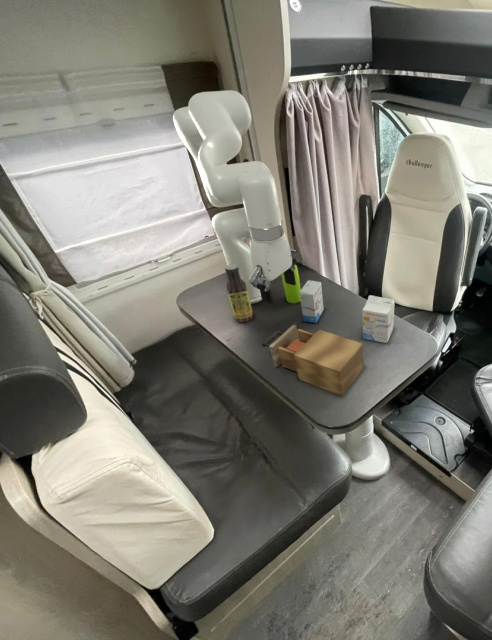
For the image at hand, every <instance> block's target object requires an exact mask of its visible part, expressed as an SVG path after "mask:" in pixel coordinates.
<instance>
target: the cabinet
mask: <svg viewBox="0 0 492 640" xmlns="http://www.w3.org/2000/svg"><path fill="white" fill-rule="evenodd" d="M313 334H314V335H313V336H312V337H311V338H310V339H309V340H308V341H307V342H306V343H305V344H304V345H303V346H302V347H301V348H300V349H299V350H298V351H297V352H296V353H295V354H294V358H295V363H296V367H297V372H296V373H297V376H298V380H300V381H302V382H305V383H307V384H310V385H312V386H315V387H318V388H320V389H323V390H325V391H327V392H331V393H333V394H336V395H338V396H341V397H343V396H344V395H345V393H346V392H347V391H348V389H349V388H350V386H351V385H352V384H353V383H354V381H355V380H356V378H357V377H358V376H359V374H361V371H363V370H364V348H363V347H364V346H363V345H364V343H362V342H358V341H356V340H353V339H349V338H346V337H343V336H341V335H337V334H334V333H331V332H329V331H325V330H323V329H318V330H317V331H316V332H315V333H313Z"/></svg>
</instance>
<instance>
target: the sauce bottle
mask: <svg viewBox="0 0 492 640" xmlns="http://www.w3.org/2000/svg"><path fill="white" fill-rule="evenodd" d="M224 270H225V273H226V276H227V283H226V286H225V287H226V290H227V295H228V299H229V303H230V306H231V311H232V313H233V316H234V319H235V321H236V322H239V323H246V322H249V321H252V319H253V316H254V314H253V308H252V304H250V299H249V295H248V291H247V288H246V283H245V282H244V281H243V280H242V279H241V278H240V275H239V268H238V265H236V264H228V265H227V264H226V265H225V266H224Z"/></svg>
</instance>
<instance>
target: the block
mask: <svg viewBox="0 0 492 640" xmlns="http://www.w3.org/2000/svg"><path fill="white" fill-rule="evenodd" d="M304 344H305V343H304V342H301V341H298V340H294V341H293V342H292V343H291V344H290V345H289V346H288V347H287V348H286V349H288V350H291V351H293V352H297V351H298V350H299V349H300V348H301V347H302V346H303V345H304Z"/></svg>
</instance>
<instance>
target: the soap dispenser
mask: <svg viewBox="0 0 492 640" xmlns="http://www.w3.org/2000/svg"><path fill="white" fill-rule="evenodd" d="M294 267H295V271H293V272H294V274H295V280H296V285H291V284H288V283H286V282H285V278H284V272H283V273H282V274H281V275H280V276H281V279H282V284H283V288H284V295H285V299H286V302H287V303H289V304H297V303H301V300H300V290H301V289H302V288H301V287H302V286H301V281H300V276H299V270H298V265H296V264H295V266H294Z"/></svg>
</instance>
